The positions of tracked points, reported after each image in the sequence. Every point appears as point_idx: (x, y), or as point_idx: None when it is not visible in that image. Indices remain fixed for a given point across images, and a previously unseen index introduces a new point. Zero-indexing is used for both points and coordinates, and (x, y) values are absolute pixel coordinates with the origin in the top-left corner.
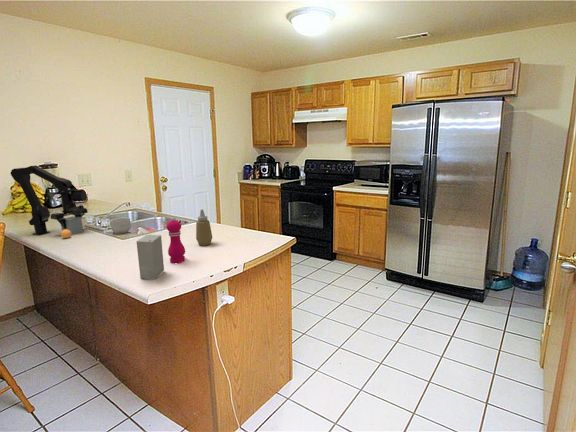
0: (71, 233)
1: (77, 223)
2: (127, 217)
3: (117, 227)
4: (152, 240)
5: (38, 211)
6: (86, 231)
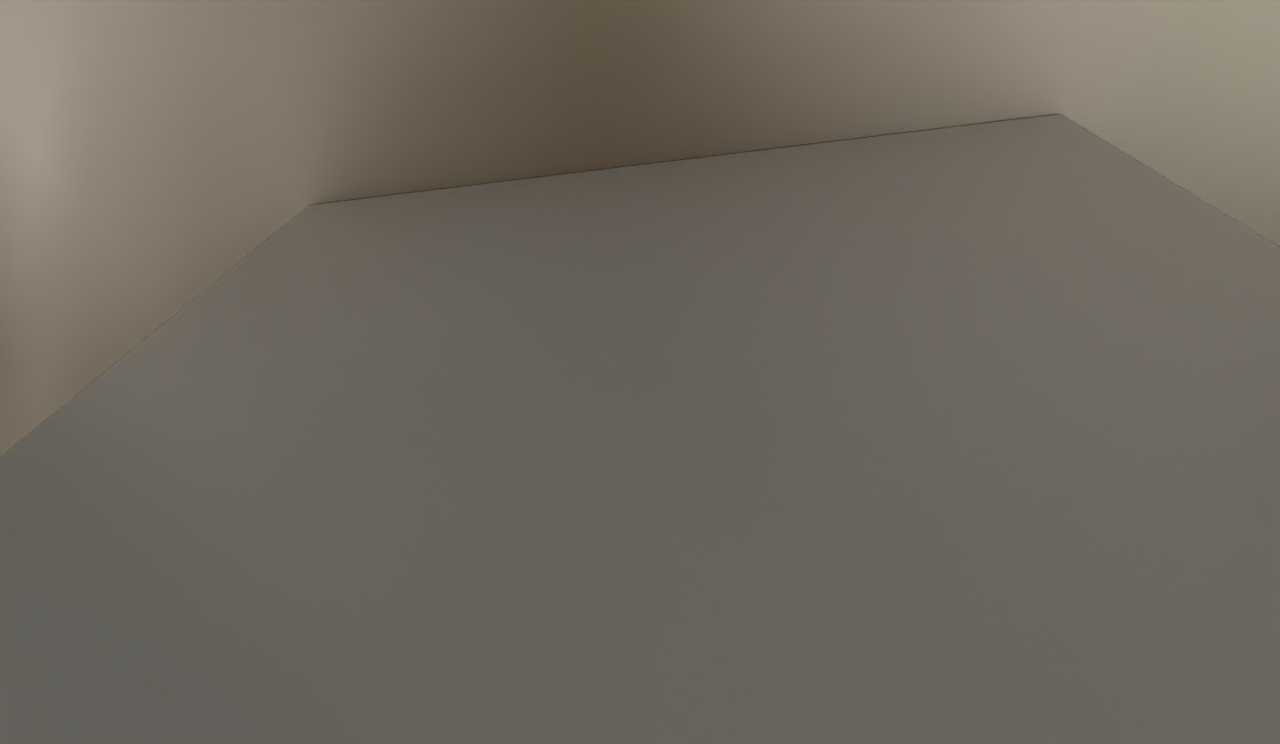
0: (1041, 132)
1: (408, 509)
2: None
3: None
4: None
5: None
6: (193, 44)
